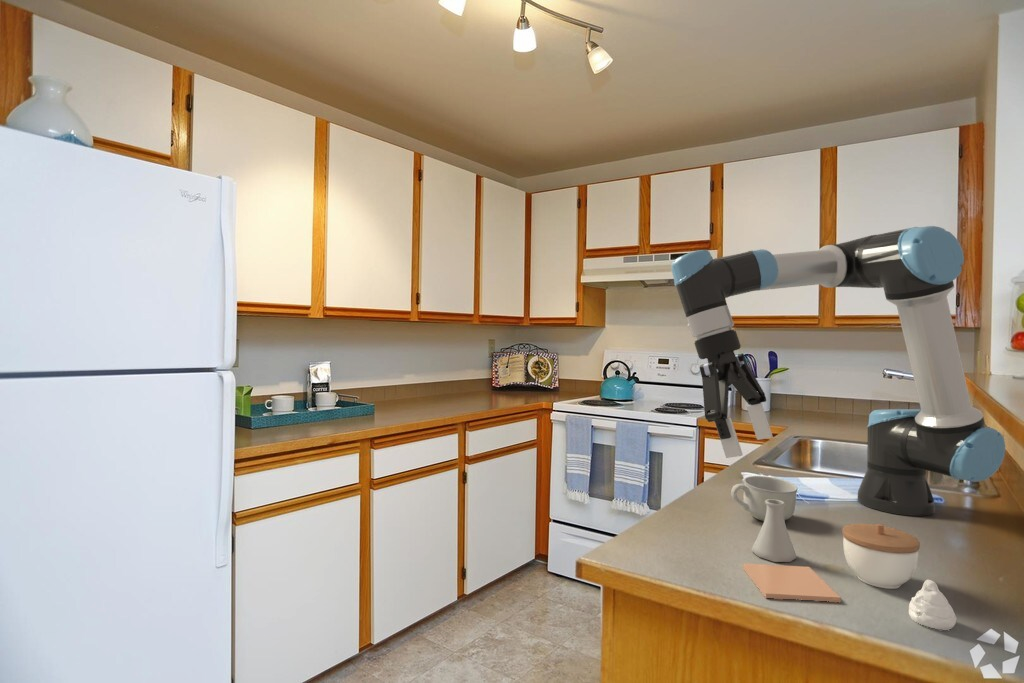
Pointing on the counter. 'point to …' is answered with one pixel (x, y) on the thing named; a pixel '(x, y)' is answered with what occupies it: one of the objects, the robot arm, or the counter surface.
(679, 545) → the counter surface
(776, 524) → the flask
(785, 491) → the teacup
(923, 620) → the garlic bulb
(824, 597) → the coaster
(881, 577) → the lidded jar
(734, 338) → the robot arm
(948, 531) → the counter surface
